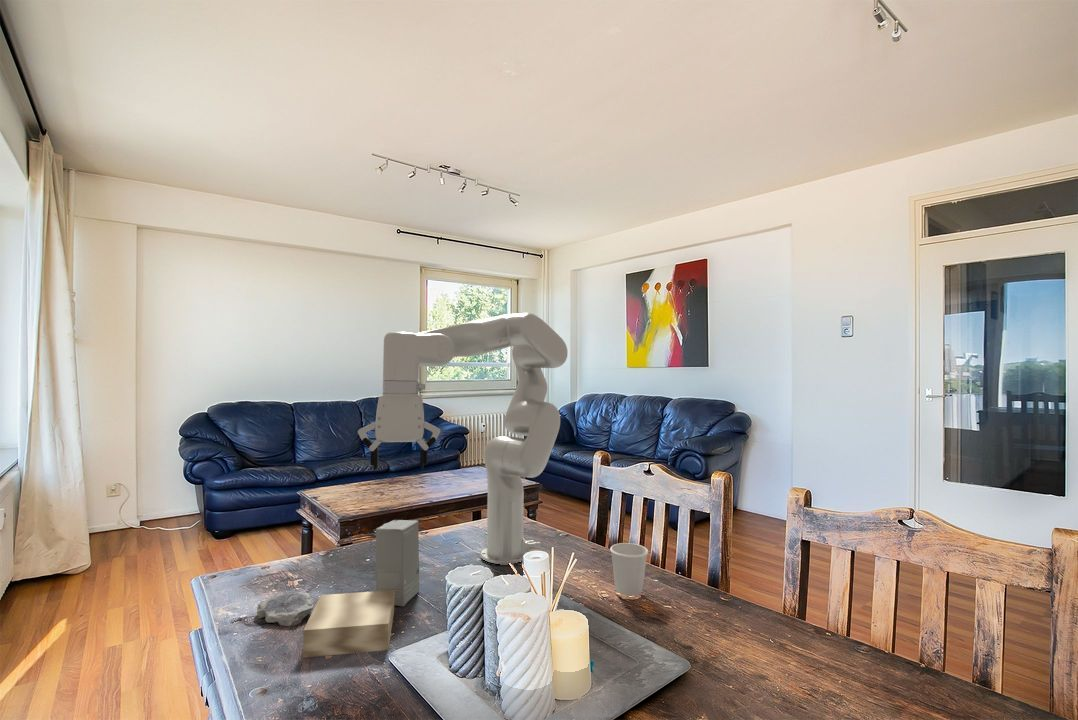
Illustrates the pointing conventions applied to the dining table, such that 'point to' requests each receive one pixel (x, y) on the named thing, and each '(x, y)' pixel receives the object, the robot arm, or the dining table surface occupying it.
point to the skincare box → (398, 559)
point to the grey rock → (286, 608)
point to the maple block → (349, 624)
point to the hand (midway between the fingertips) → (399, 468)
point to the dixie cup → (628, 567)
